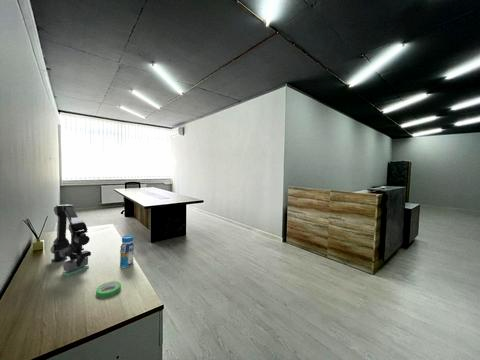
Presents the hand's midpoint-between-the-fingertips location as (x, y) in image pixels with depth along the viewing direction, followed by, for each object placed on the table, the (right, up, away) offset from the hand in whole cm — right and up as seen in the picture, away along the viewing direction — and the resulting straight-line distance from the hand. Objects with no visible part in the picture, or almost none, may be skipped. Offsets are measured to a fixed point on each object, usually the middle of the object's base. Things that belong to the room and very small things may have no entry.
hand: (76, 265), depth 124 cm
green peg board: (0, -4, 0) cm, 4 cm away
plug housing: (0, -1, 0) cm, 1 cm away
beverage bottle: (+26, -5, +11) cm, 29 cm away
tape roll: (+33, -6, -19) cm, 39 cm away
